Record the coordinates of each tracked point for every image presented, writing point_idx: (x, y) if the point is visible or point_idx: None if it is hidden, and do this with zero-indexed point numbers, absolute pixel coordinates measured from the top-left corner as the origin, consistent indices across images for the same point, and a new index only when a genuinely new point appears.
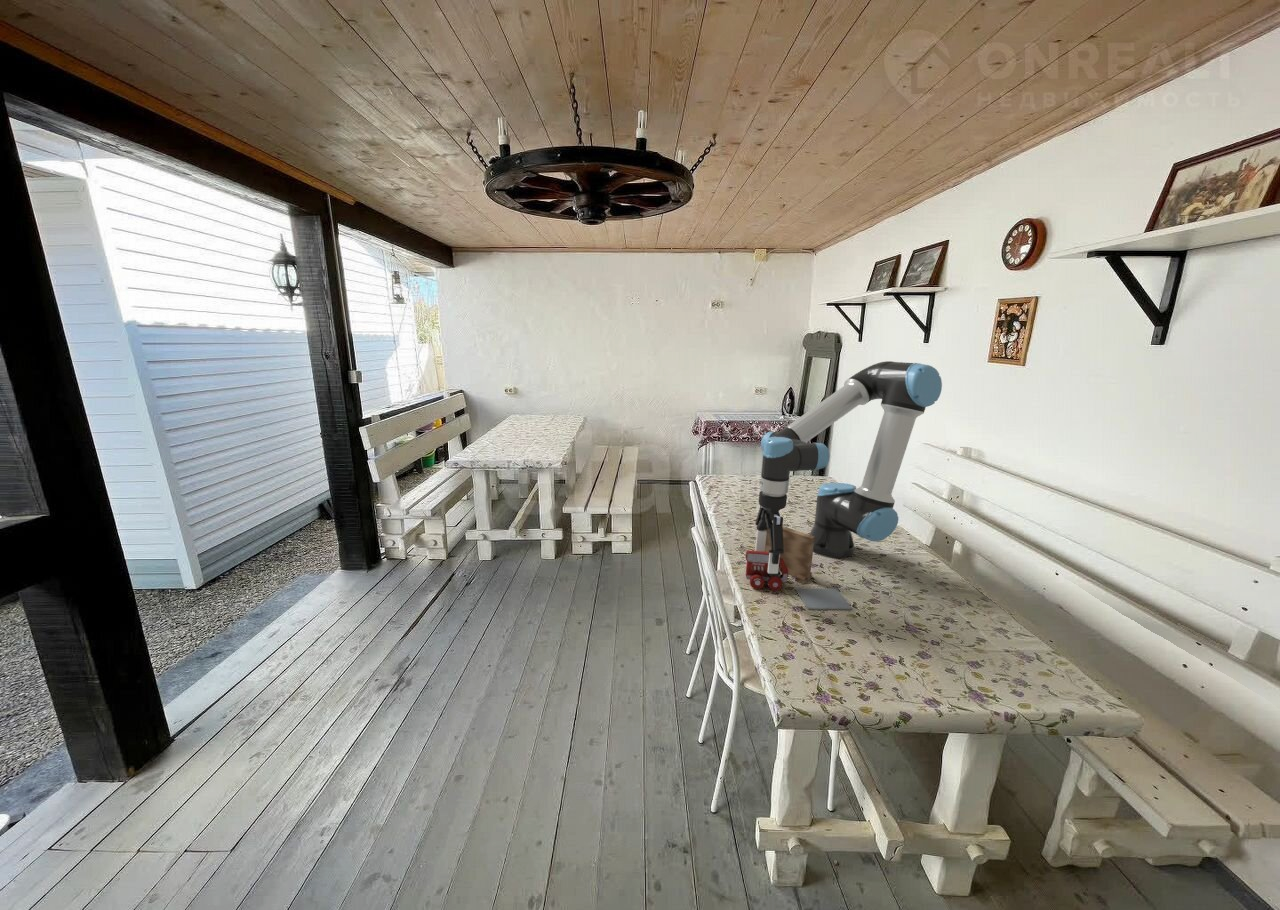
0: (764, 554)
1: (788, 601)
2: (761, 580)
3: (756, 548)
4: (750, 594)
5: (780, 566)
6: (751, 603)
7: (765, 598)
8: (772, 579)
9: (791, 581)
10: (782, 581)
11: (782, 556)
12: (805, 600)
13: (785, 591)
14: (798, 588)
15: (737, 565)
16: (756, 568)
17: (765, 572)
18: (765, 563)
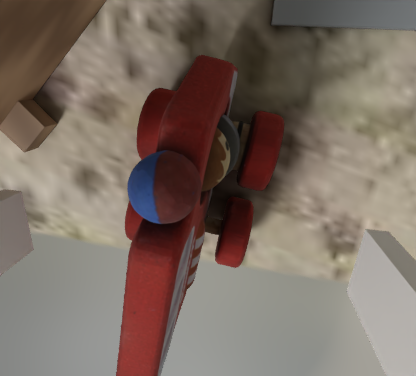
0: (172, 299)
1: (374, 113)
2: (250, 227)
3: (16, 259)
4: (281, 254)
5: (57, 39)
6: (346, 272)
7: (323, 209)
8: (267, 181)
9: (182, 14)
10: (232, 96)
11: (3, 22)
12: (410, 12)
13: (280, 92)
14: (274, 3)
15: (53, 228)
16: (197, 264)
17: (206, 204)
18: (193, 238)
